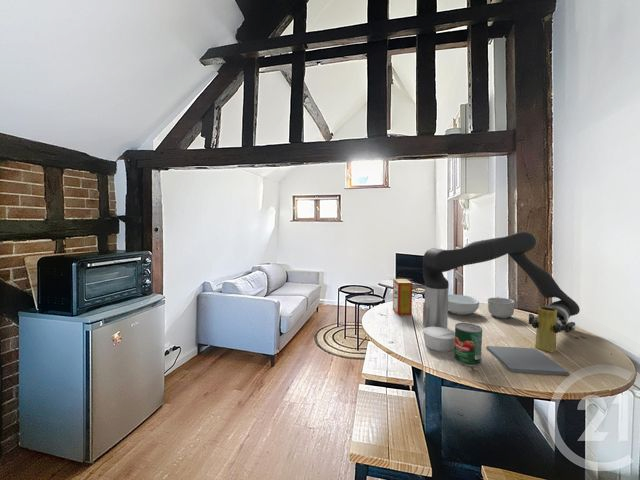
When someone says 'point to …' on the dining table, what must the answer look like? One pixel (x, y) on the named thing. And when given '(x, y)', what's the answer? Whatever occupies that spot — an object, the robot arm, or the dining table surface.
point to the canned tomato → (468, 344)
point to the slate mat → (526, 360)
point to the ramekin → (439, 338)
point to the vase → (546, 329)
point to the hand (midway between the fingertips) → (545, 327)
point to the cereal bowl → (462, 304)
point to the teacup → (501, 307)
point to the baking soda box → (402, 296)
